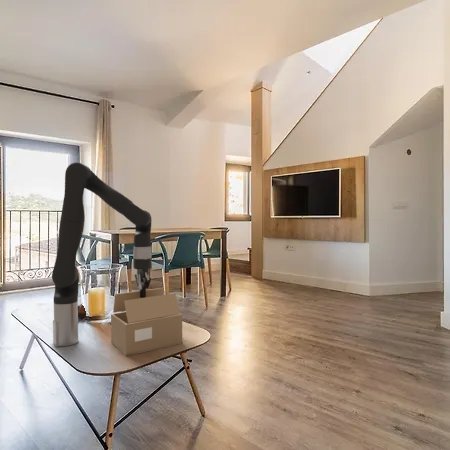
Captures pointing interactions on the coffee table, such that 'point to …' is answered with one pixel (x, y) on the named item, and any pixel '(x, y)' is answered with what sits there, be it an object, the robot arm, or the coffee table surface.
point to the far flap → (133, 297)
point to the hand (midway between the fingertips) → (142, 297)
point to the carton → (145, 333)
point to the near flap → (151, 307)
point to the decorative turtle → (81, 312)
